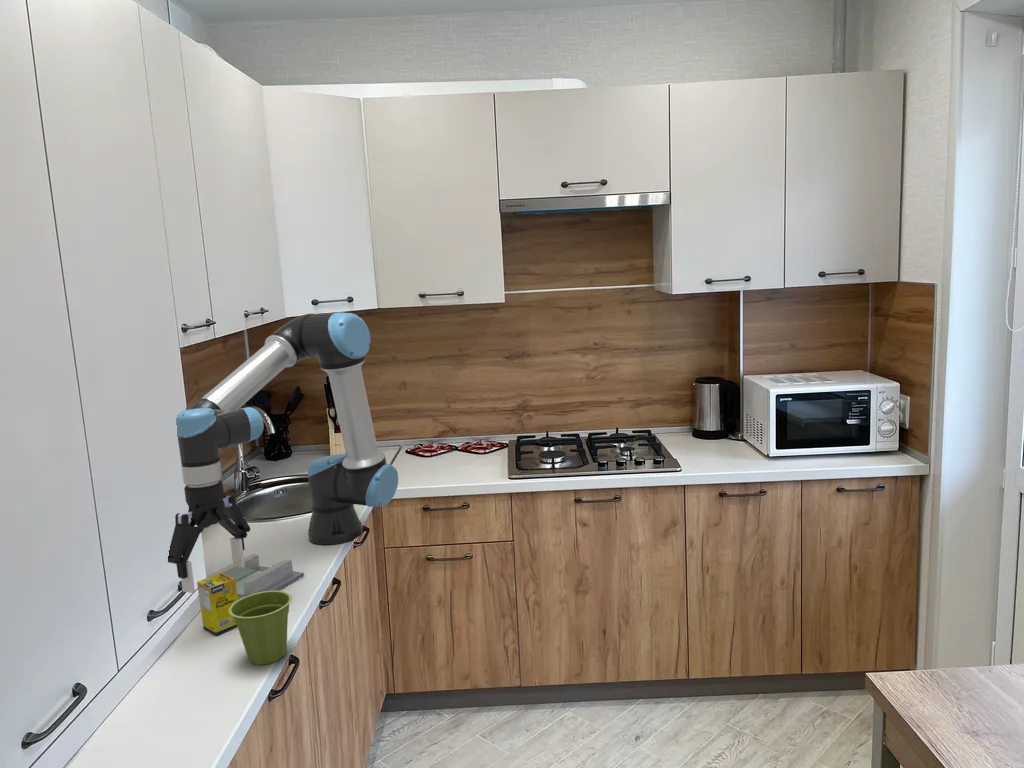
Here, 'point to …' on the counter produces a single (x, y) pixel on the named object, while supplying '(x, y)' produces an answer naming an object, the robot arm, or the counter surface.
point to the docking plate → (261, 576)
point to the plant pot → (263, 624)
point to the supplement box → (217, 602)
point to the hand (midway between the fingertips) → (214, 578)
